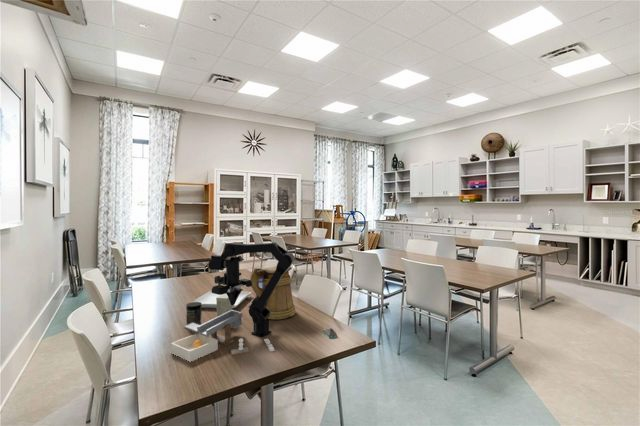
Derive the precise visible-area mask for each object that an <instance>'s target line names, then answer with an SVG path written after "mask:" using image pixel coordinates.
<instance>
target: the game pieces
mask: <svg viewBox="0 0 640 426" xmlns="http://www.w3.org/2000/svg"><path fill="white" fill-rule="evenodd" d="M322 332H323V334H324V335H325V336H326V335H327V336H328V337H329V338H328V337H327V336H326V337H327V338H328V339H334V338H338V335H337V332H336V331H335V330H334V329H333V328H331V327H330V328H327V329H326V328H323V329H322ZM333 337H334V338H333ZM263 341H264V343H265V345H266V346H267V348H268V350H269V352H275V346H273V344H272V343H271V341H270V340H269V338H264V339H263ZM238 342H239V343H238V348H234V349H230V353H231V356H237V355H241V354H242V355H243V354H248V353H250V350H249V347H244V338H242V337H241V338H239V339H238Z"/></svg>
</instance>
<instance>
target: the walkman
mask: <svg viewBox="0 0 640 426" xmlns="http://www.w3.org/2000/svg"><path fill="white" fill-rule="evenodd" d="M263 279H264V278H261V279H259V281H258V286H259V287H260V288H264V284H263V283H262V280H263ZM255 296H256V297H257V295H256V294H255Z"/></svg>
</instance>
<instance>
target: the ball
mask: <svg viewBox="0 0 640 426" xmlns="http://www.w3.org/2000/svg"><path fill="white" fill-rule="evenodd" d="M202 345H203V342H202V341H201V340H196V341H195V342H194V343H193V347H194V348H197V347H200V346H202Z"/></svg>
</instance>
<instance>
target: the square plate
mask: <svg viewBox="0 0 640 426" xmlns="http://www.w3.org/2000/svg"><path fill="white" fill-rule="evenodd" d="M251 294H252V291H243V290H242V291H241V293H240V294H239V296H238V298H237V300H236V302H235V304H234V305H233V306H232V309H236V308H237V307H238V306H239V305H240V304H241V303H242V302H243V301H244V300H246V299H247V298H249V296H251ZM219 296H227V294H222V295H218V294H214V293H212V290H210V291H208V292H206V293H205V294H204V293H203V294H202V295H201V296H199V297H197V298H196V299H195V300H192V302H201V303H202V309H217V302H216V298H217V297H219Z"/></svg>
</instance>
